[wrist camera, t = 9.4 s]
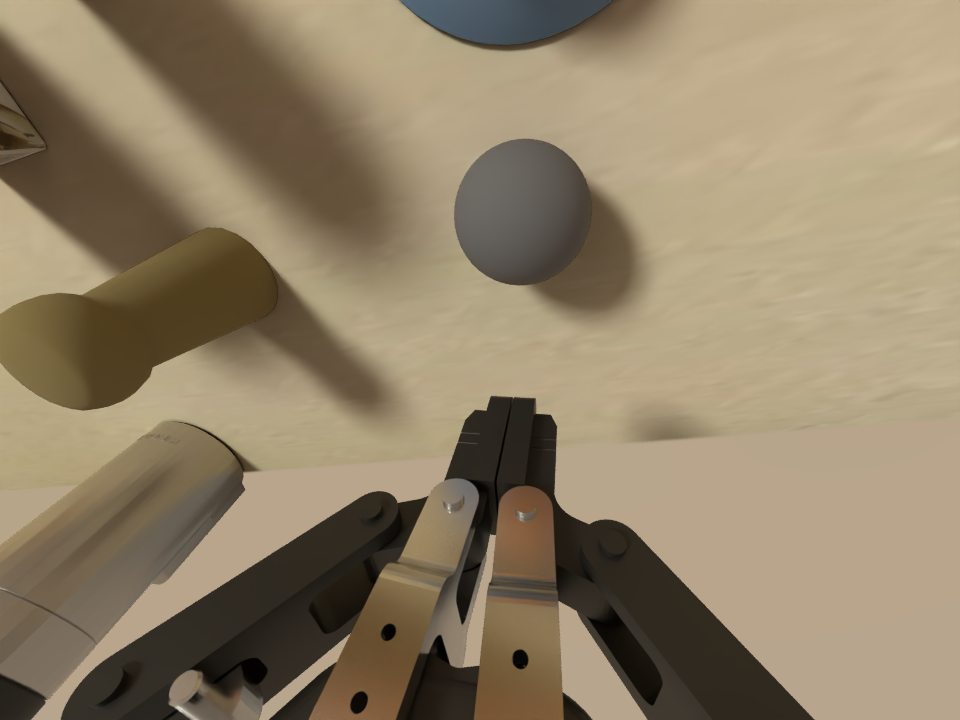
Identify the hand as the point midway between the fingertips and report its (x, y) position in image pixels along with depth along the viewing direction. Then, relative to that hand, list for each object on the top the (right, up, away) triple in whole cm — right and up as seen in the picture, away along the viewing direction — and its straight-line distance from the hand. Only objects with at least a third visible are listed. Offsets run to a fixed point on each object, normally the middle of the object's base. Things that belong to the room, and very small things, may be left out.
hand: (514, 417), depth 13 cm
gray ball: (+1, +8, +3) cm, 8 cm away
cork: (-17, +7, +11) cm, 22 cm away
